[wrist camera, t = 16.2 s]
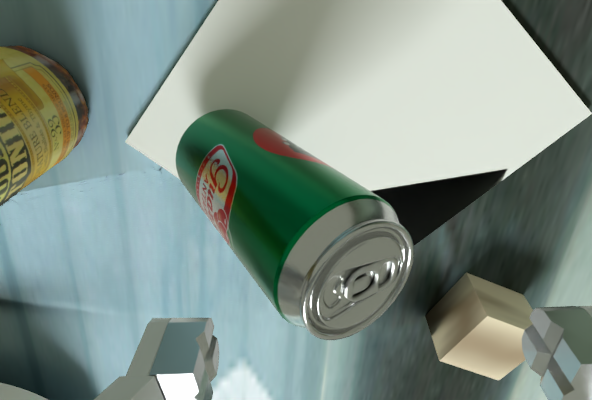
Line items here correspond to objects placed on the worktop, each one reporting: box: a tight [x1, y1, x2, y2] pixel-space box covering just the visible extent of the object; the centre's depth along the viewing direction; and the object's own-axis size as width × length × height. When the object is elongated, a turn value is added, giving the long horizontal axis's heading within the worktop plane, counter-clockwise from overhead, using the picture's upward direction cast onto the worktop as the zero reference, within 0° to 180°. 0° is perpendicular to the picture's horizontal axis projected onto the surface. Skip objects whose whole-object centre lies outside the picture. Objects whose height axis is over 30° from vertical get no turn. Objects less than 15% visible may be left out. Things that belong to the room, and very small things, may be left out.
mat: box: [125, 0, 592, 245], centre depth 21 cm, size 18×18×1 cm
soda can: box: [176, 109, 414, 340], centre depth 16 cm, size 5×5×12 cm
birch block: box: [425, 273, 533, 380], centre depth 27 cm, size 5×5×4 cm
